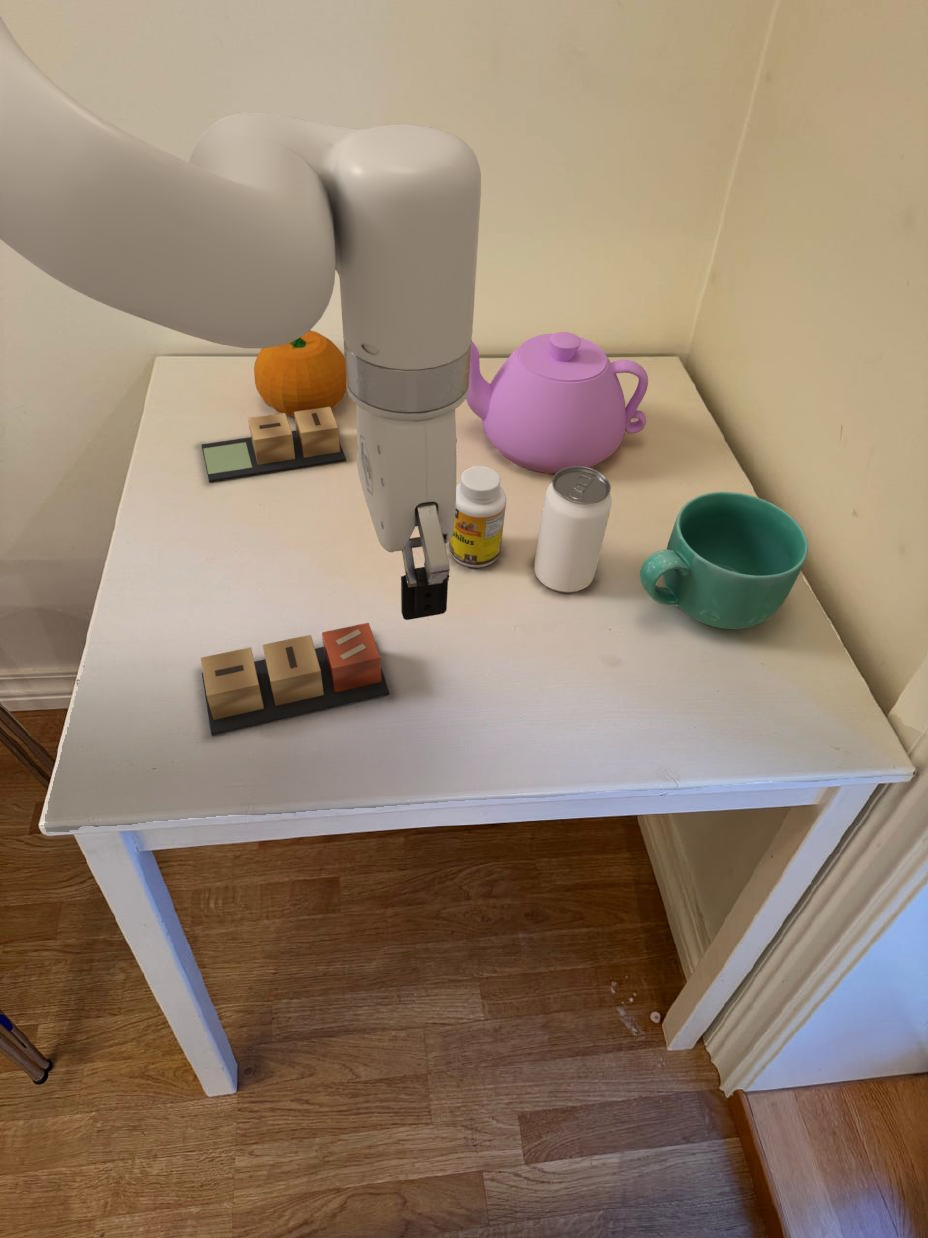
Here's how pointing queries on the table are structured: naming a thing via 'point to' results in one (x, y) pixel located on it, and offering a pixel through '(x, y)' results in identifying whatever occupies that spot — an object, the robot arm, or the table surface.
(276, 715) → the front mat
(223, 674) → the wooden cube
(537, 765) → the table surface
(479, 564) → the supplement bottle
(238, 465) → the back mat
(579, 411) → the teapot
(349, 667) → the striped orange cube
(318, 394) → the fruit
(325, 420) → the pair of dash-marked blocks
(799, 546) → the mug
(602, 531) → the can
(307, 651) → the wooden cube
